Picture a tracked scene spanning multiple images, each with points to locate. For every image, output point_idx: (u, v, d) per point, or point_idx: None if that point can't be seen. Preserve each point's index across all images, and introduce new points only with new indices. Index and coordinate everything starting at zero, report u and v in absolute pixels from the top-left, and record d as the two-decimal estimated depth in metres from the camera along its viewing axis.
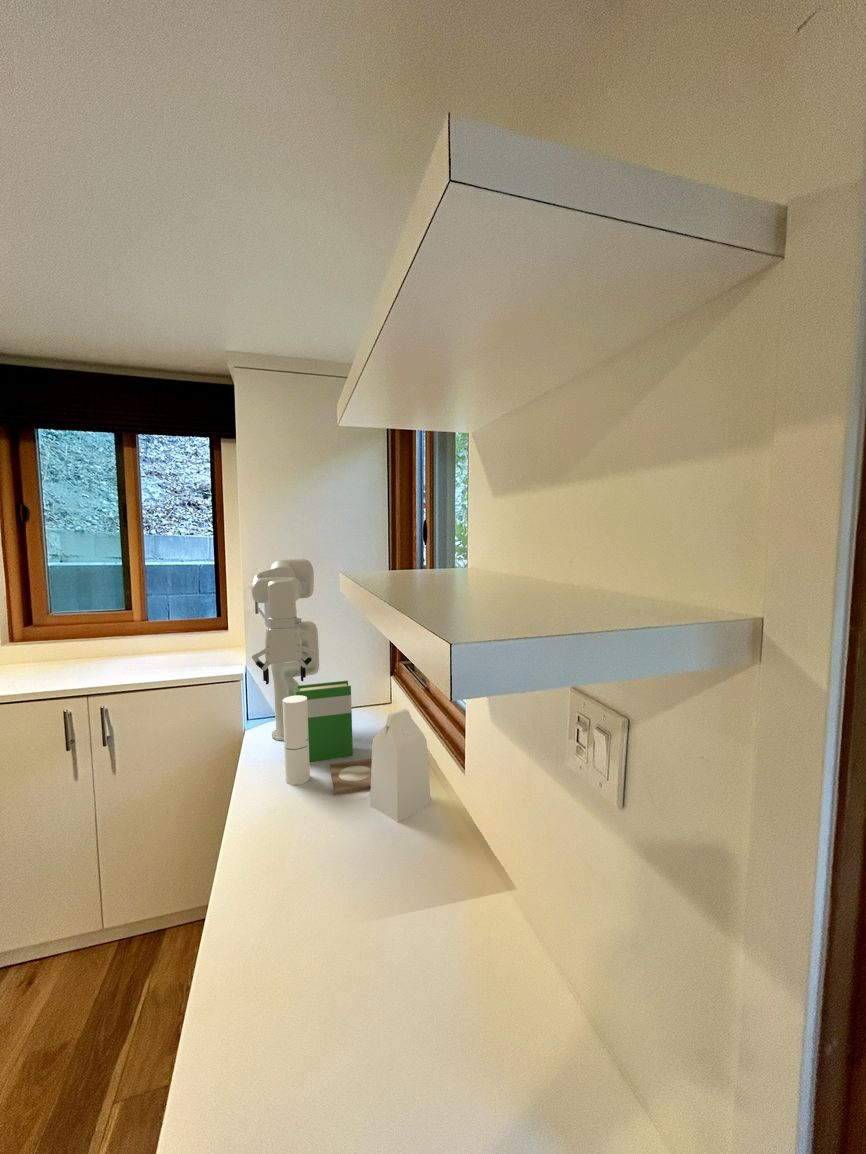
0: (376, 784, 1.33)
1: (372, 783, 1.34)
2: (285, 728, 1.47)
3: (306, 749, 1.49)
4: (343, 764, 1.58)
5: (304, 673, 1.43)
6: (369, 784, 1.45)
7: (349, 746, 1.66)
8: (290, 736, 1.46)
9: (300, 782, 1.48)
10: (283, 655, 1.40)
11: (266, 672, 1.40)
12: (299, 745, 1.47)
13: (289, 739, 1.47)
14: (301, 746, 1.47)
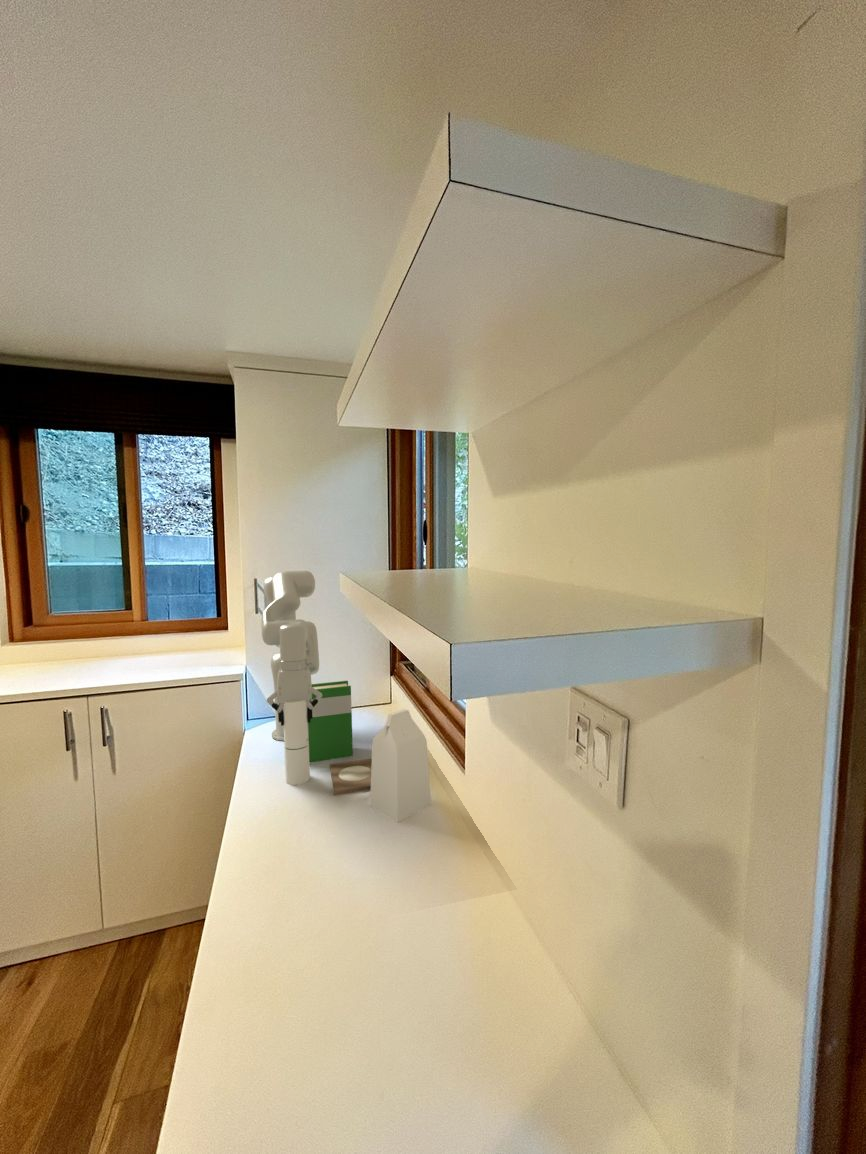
0: (376, 784, 1.33)
1: (372, 783, 1.34)
2: (285, 728, 1.47)
3: (306, 749, 1.49)
4: (343, 764, 1.58)
5: (311, 714, 1.50)
6: (369, 784, 1.45)
7: (349, 746, 1.66)
8: (290, 736, 1.46)
9: (300, 782, 1.48)
10: (295, 695, 1.47)
11: (281, 714, 1.47)
12: (299, 745, 1.47)
13: (289, 739, 1.47)
14: (301, 746, 1.47)
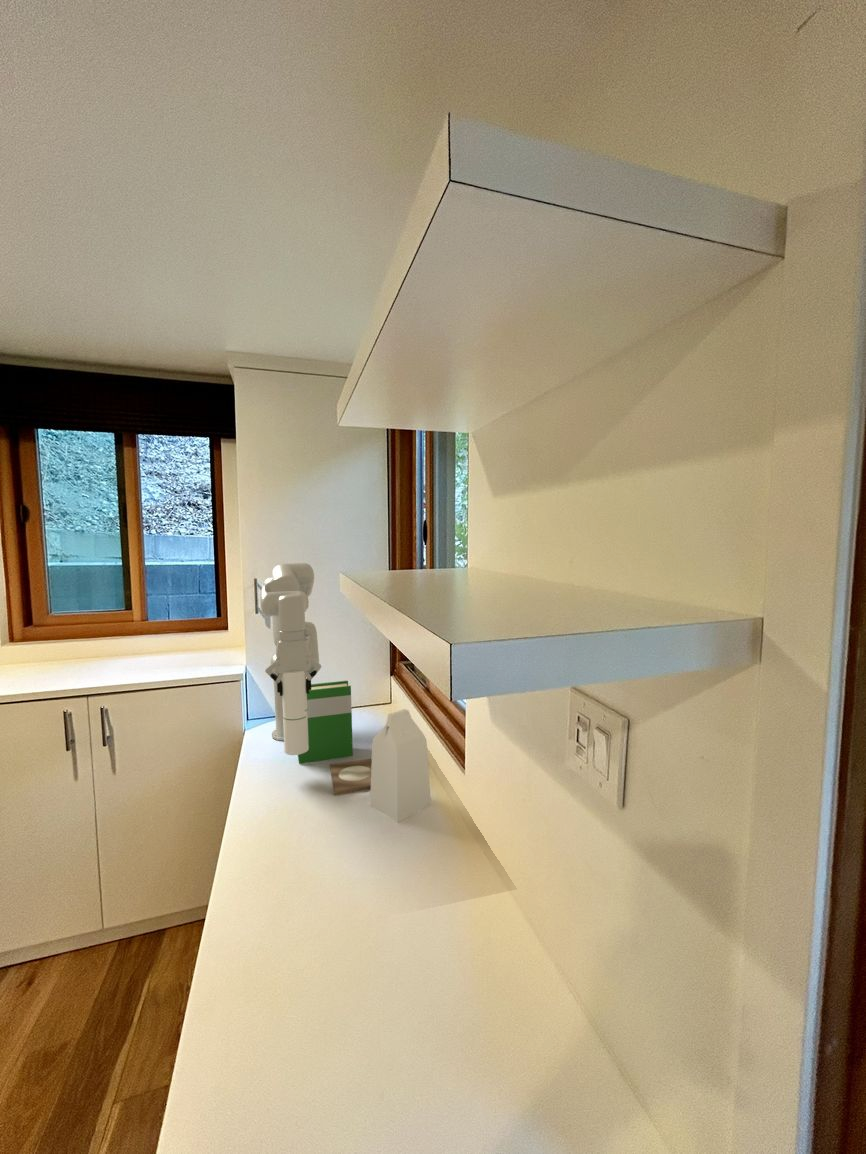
0: (376, 784, 1.33)
1: (372, 783, 1.34)
2: (284, 698, 1.47)
3: (305, 720, 1.49)
4: (343, 764, 1.58)
5: (310, 685, 1.50)
6: (369, 784, 1.45)
7: (349, 746, 1.66)
8: (288, 707, 1.46)
9: (299, 752, 1.48)
10: (293, 666, 1.47)
11: (280, 684, 1.47)
12: (298, 715, 1.47)
13: (288, 709, 1.46)
14: (300, 717, 1.47)
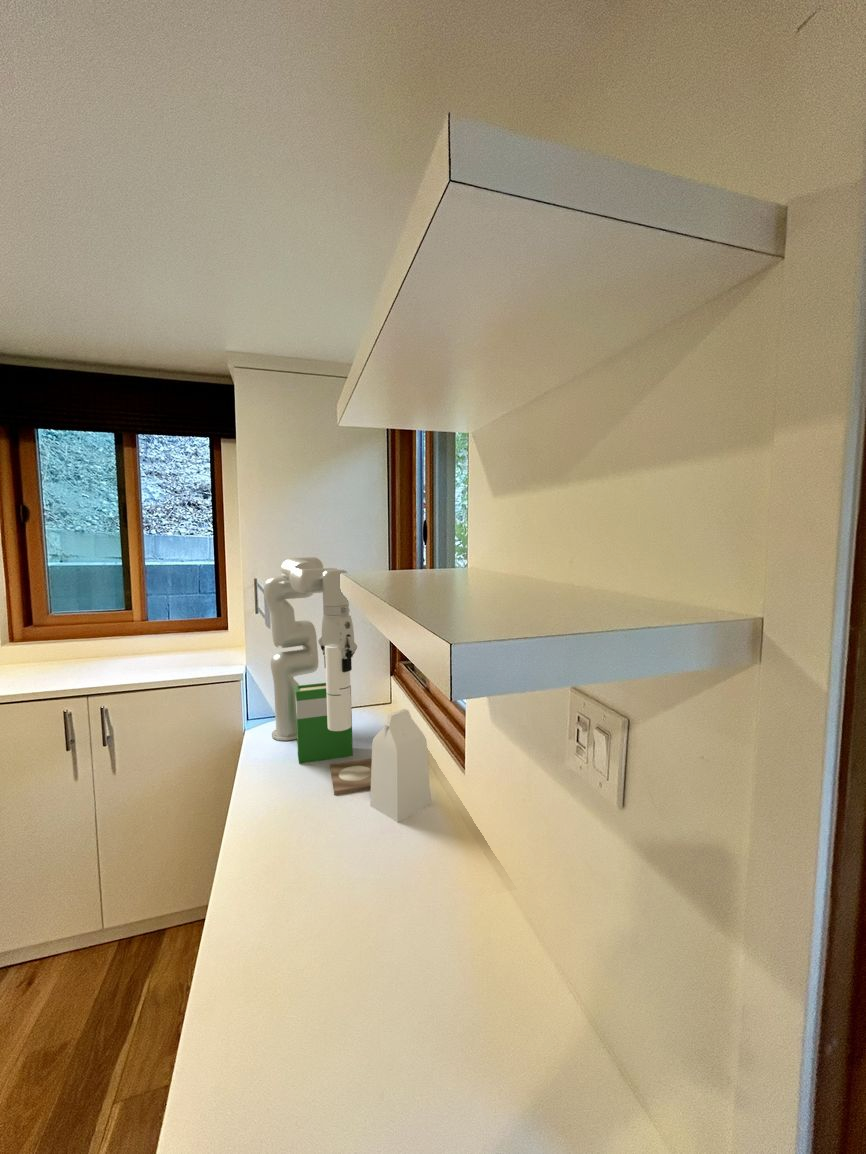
0: (376, 784, 1.33)
1: (372, 783, 1.34)
2: None
3: (339, 698, 1.46)
4: (343, 764, 1.58)
5: (346, 664, 1.45)
6: (369, 784, 1.45)
7: (349, 746, 1.66)
8: (326, 680, 1.48)
9: (332, 729, 1.47)
10: (331, 641, 1.46)
11: None
12: (331, 691, 1.46)
13: (326, 683, 1.48)
14: (333, 693, 1.46)
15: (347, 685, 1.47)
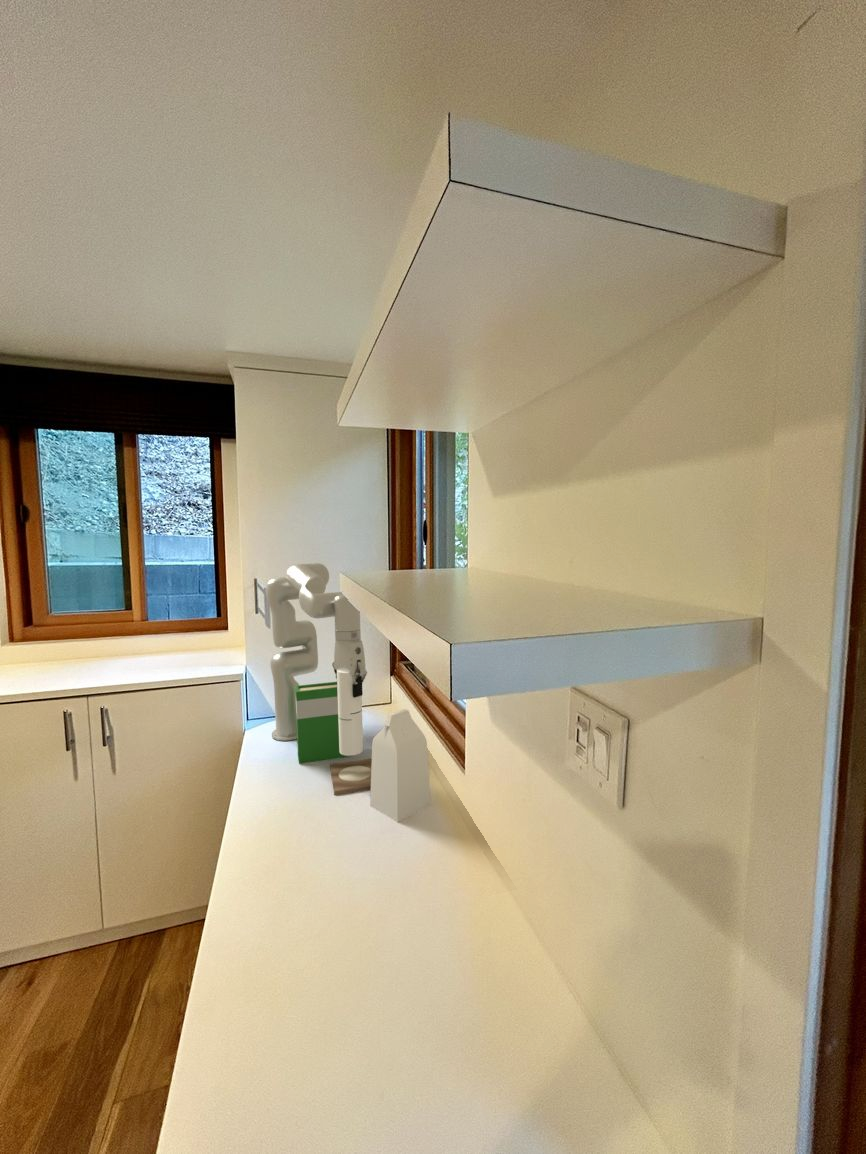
0: (376, 784, 1.33)
1: (372, 783, 1.34)
2: None
3: (350, 723, 1.46)
4: (343, 764, 1.58)
5: (356, 690, 1.45)
6: (369, 784, 1.45)
7: None
8: (338, 704, 1.49)
9: (343, 753, 1.48)
10: (342, 666, 1.47)
11: None
12: (342, 716, 1.47)
13: (338, 706, 1.49)
14: (344, 717, 1.47)
15: (358, 710, 1.48)
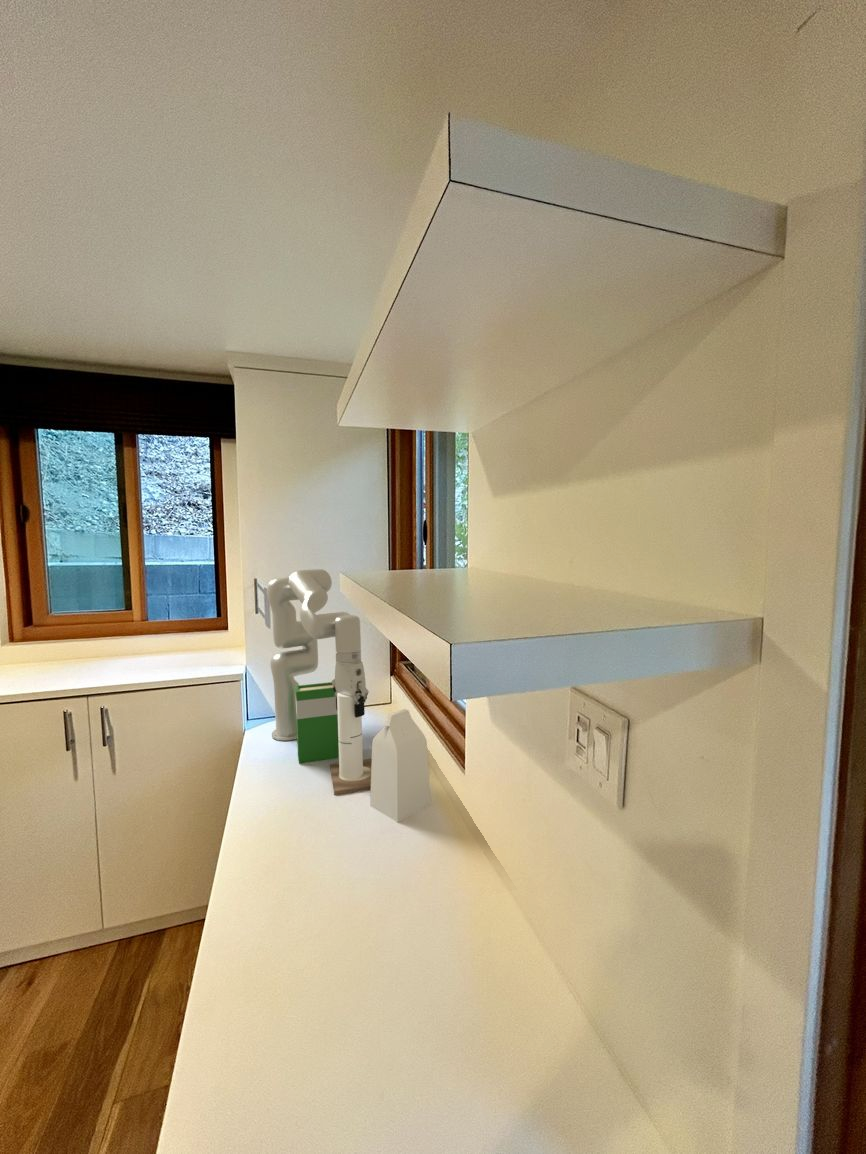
0: (376, 784, 1.33)
1: (372, 783, 1.34)
2: None
3: (350, 746, 1.47)
4: None
5: (358, 710, 1.45)
6: (369, 784, 1.45)
7: None
8: (338, 728, 1.49)
9: (343, 776, 1.48)
10: (343, 687, 1.48)
11: (336, 698, 1.52)
12: (342, 739, 1.47)
13: (338, 730, 1.50)
14: (344, 741, 1.47)
15: (358, 733, 1.48)
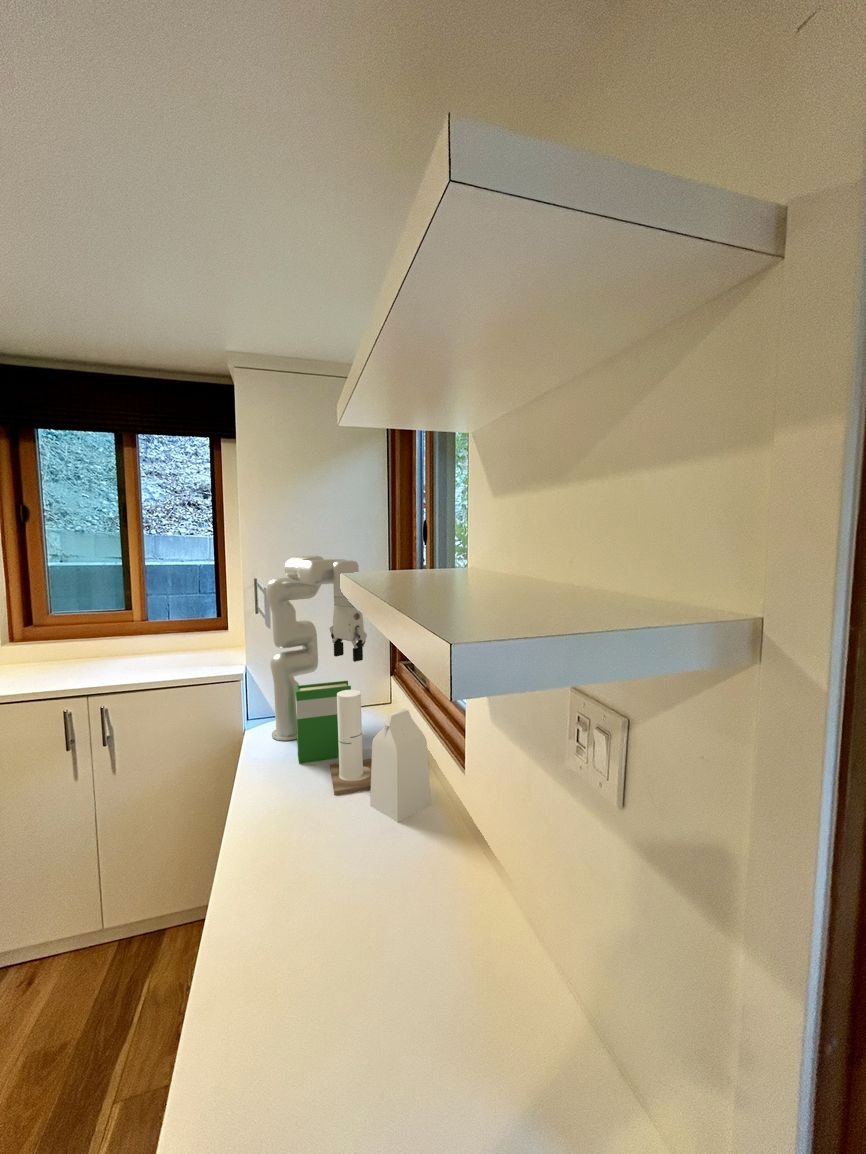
0: (376, 784, 1.33)
1: (372, 783, 1.34)
2: None
3: (350, 746, 1.47)
4: None
5: (356, 654, 1.44)
6: (369, 784, 1.45)
7: None
8: (338, 727, 1.49)
9: (343, 776, 1.48)
10: (341, 632, 1.47)
11: (334, 645, 1.51)
12: (342, 739, 1.47)
13: (338, 730, 1.50)
14: (344, 741, 1.47)
15: (358, 733, 1.48)
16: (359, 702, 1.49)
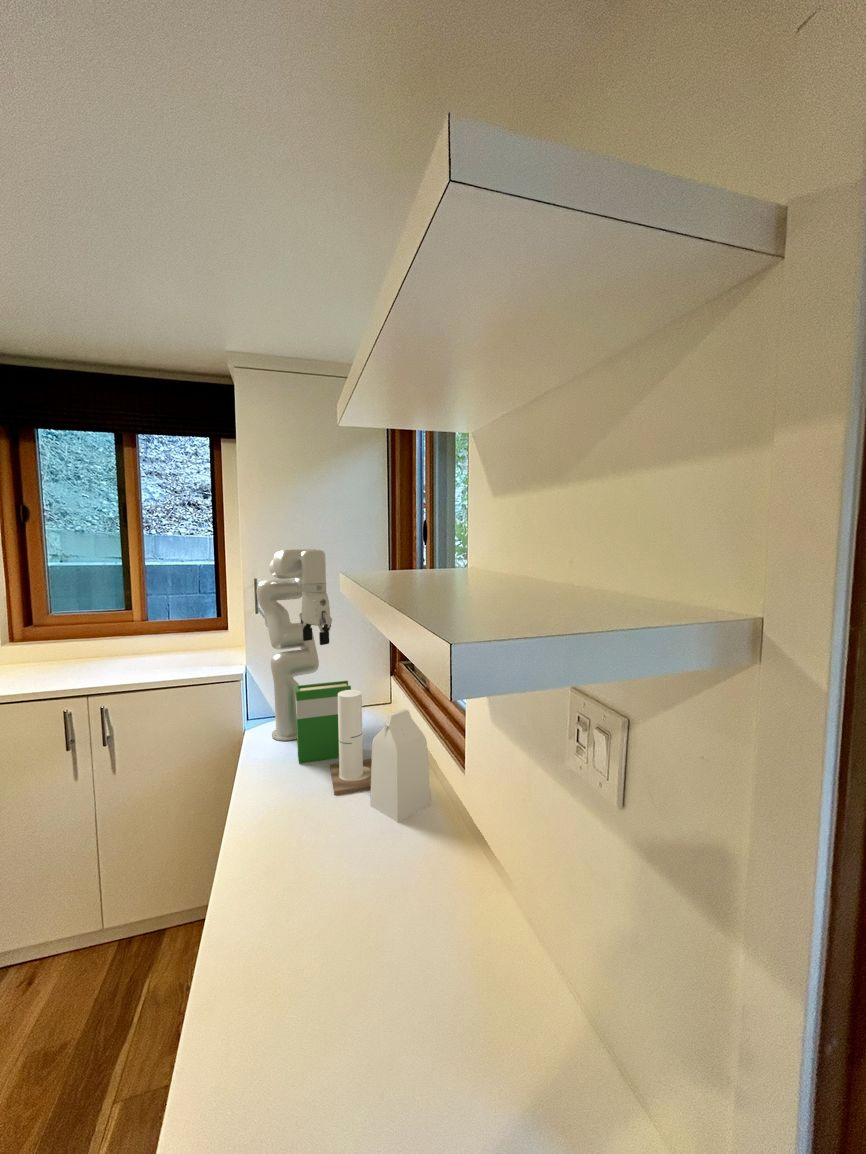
0: (376, 784, 1.33)
1: (372, 783, 1.34)
2: None
3: (350, 746, 1.47)
4: None
5: (323, 638, 1.53)
6: (369, 784, 1.45)
7: None
8: (338, 727, 1.49)
9: (343, 776, 1.48)
10: (308, 617, 1.55)
11: (303, 630, 1.60)
12: (342, 739, 1.47)
13: None
14: (344, 741, 1.47)
15: (358, 733, 1.48)
16: (360, 702, 1.49)
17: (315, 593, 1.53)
